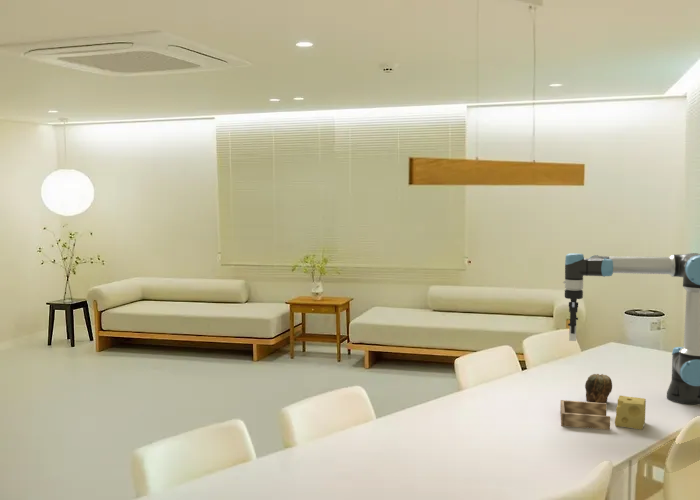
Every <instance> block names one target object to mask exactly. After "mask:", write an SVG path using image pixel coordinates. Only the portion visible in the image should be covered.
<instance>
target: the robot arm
mask: <svg viewBox="0 0 700 500" xmlns="http://www.w3.org/2000/svg"><path fill="white" fill-rule="evenodd" d="M614 274H631V275H632V274H633V275H634V274H637V275H638V274H640V275H641V274H642V275H643V274H645V275H670V276H671V277H673V278H675V277H676V278H679V277H680V278H682V288H684V289H685V290H686V295H685V315H684V331H683V332H684V334H683V335H684V336H683V346H675V347H673V348H672V352H671V357H672V358H671V359H672V360H671V381H670V383H669V386H668V388H667V390H666V399H667V400H669V401H672V402H675V403H679V404H687V405H699V404H700V253H699V252H698V253H696V252H693V253H692V252H689V253H684V254H683V253H682V254H681V253H680V254H671V255H670V256H627V255H625V256H616V255H614V256H613V255H611V256H610V255H609V256H608V255H607V256H605V255H598V254H597V255H595V254H594V255H592V256H590V257H589V258H587V257H585V256H584V254H583V253H576V252H572V253H567V254H565V262H564V281H563V282H562V283H563V284H564V298H565V299H568V300H570V301H568V312H569V323H567V326H569V333H568V334H569V338H568V339H569V340H568V341H570V342H576V341H577V322H578V321H579V317H577V314H578V308H579V302H578V300H581V299H583V297H584V290H583V289H584V277H588V276H589V277H604V278H605V277H612V276H613V275H614Z"/></svg>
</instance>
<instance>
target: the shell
mask: <svg viewBox="0 0 700 500" xmlns="http://www.w3.org/2000/svg"><path fill="white" fill-rule="evenodd" d="M584 388H585V400H586V402H595V403H606V404H607V402H608V398H609V396H610V394H611V393H612V391H613V380H612V379H611V377H610V376H609V375H607V374H603V373H602V374H599V373H593V374H591V375H589V376H588V377H587V380H586V381H585V385H584Z"/></svg>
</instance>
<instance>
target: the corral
mask: <svg viewBox="0 0 700 500" xmlns="http://www.w3.org/2000/svg"><path fill="white" fill-rule="evenodd" d="M607 406H608V403H607V402H606V403H595V402H589V401H579V400H567V399H565V400H564V399H560V407H559V408H560V411H559V412H560V423H561V424H560V425H561V427H570V428H583V429H595V430H605V431H607V430H608V431H610V430H611V416H610V415H607Z"/></svg>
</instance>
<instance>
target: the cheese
mask: <svg viewBox="0 0 700 500" xmlns="http://www.w3.org/2000/svg"><path fill="white" fill-rule="evenodd" d="M646 402H647V401H646V398H643V397H635V396H634V397H633V396H625V395H619V396H618V398H617V404H616V409H615V414H616V415H615V419H614V424H615V425H614V426H615V427H620V428H628V429H635V430H640V431H642V430H643V429H644V427H645V422H646V404H647V403H646Z"/></svg>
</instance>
